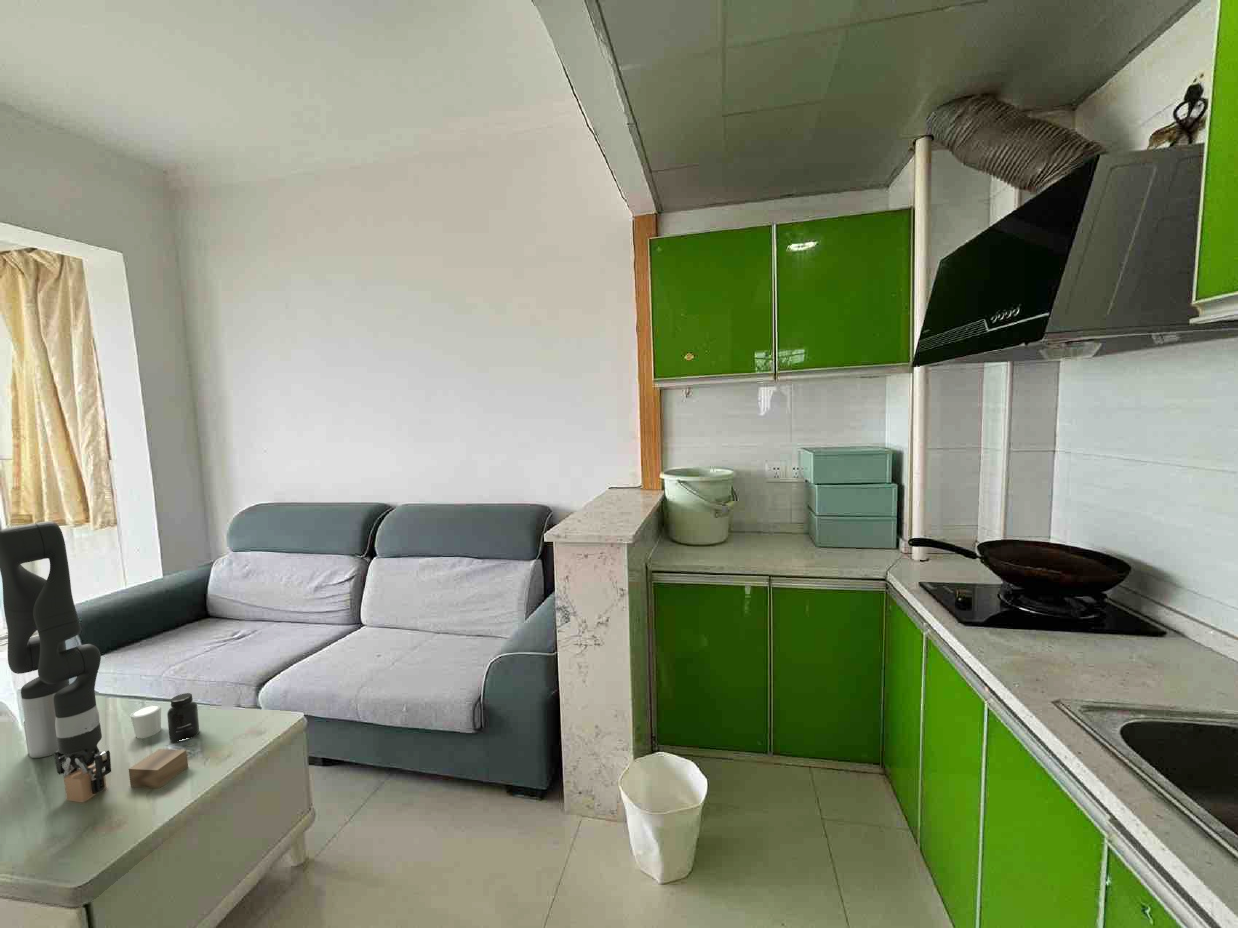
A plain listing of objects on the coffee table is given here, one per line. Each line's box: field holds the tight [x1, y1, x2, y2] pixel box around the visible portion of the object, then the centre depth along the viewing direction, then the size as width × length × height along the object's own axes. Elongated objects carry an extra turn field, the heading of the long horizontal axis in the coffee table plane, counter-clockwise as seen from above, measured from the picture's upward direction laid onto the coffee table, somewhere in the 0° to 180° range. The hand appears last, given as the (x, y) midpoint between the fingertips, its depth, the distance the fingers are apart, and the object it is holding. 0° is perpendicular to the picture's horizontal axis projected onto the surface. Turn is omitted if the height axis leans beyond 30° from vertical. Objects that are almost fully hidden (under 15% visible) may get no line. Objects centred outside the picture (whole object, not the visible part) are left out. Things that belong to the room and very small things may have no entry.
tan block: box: [63, 764, 108, 803], centre depth 130 cm, size 5×5×6 cm
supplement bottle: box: [166, 692, 200, 743], centre depth 153 cm, size 7×7×12 cm
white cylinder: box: [130, 704, 162, 739], centre depth 156 cm, size 7×7×7 cm
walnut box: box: [128, 748, 189, 789], centre depth 136 cm, size 8×8×5 cm
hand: (86, 790), depth 130 cm, fingers open, 7 cm apart
